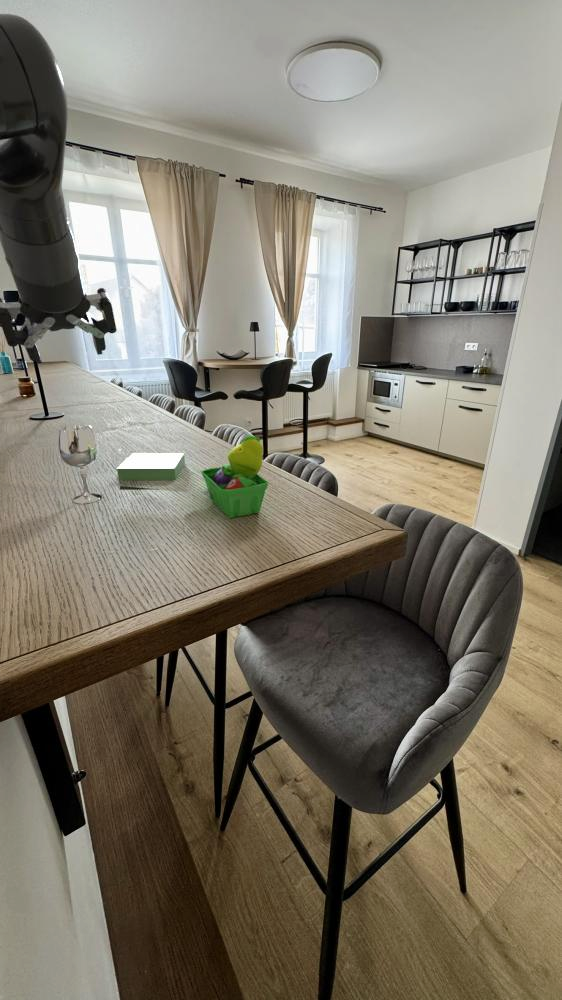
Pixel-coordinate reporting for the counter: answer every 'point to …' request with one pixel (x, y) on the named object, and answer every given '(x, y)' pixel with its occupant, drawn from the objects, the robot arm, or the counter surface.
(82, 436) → the wineglass
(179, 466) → the green block
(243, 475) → the fruit basket
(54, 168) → the robot arm
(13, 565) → the counter surface
